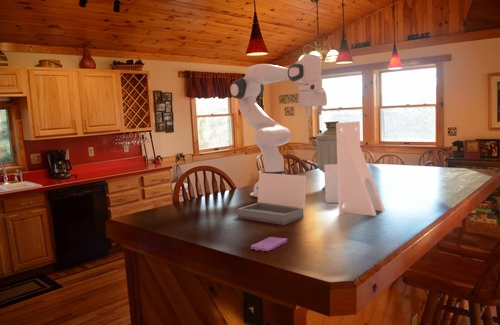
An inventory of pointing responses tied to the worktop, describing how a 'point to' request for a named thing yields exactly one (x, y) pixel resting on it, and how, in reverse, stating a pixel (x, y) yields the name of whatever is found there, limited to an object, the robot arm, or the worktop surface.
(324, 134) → the samovar
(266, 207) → the shallow grey box
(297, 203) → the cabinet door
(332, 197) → the milk carton
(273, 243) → the sponges
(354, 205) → the white bracket plate
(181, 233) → the worktop surface
